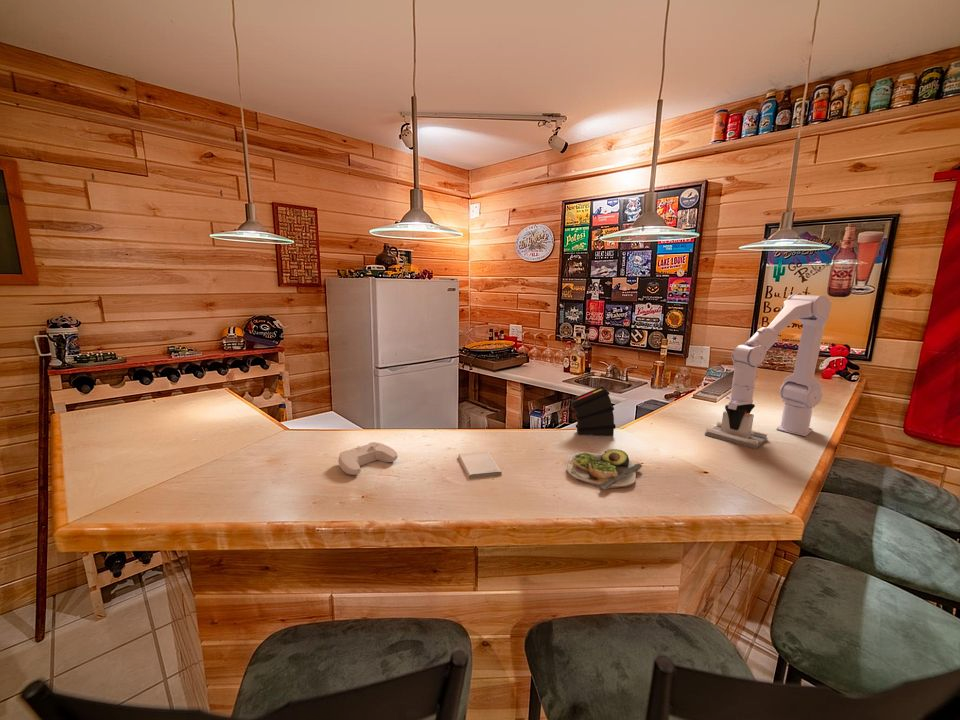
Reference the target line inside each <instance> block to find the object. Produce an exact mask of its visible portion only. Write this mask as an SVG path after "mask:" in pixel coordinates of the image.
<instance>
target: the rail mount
mask: <svg viewBox="0 0 960 720" xmlns="http://www.w3.org/2000/svg"><path fill="white" fill-rule="evenodd" d="M721 425H722V422H719V421H718V422H716V426H714V427H713V428H710V427H706V429H705V432H704V436H707V437H712V438H714V439H715V438H716V439H719V440H722V441H726V442H729V443H733V444H735V445H740V446H744V447H746V448H749V449H750V448H751V449H755V450H756V449H758V447H760V446H761V445H763V444H764V443H765V442H767V441H768V438H769V437H768V433H764V432H760V431H756V430H751V436H750V437H749V438H745V437H741V436H738V435H734V434H730V433H726V432H723V431H721Z"/></svg>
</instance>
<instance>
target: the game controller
mask: <svg viewBox="0 0 960 720" xmlns="http://www.w3.org/2000/svg"><path fill="white" fill-rule="evenodd" d="M398 457H399V455H398V452H397V451H396V450H395V449H394V448H392V447H390V446H388V445H386V444H384V443H380V442H376V441H374V442H369V443H367V444H365V445H361V446H360V445H359V446H357V447H355V448H354V447H353V448H352V449H345V450H343V451H341V452H340V453H339V456H338V461H337V462H338V466H339V468H340V469H341V470H342V471H343V472H344V473H345V474H347V475H351V476H356V475H358V474H360V473H361V466H363V465H366V464H369V463H372V462H375V461H380V462H384V463H391V462H395V461H396V460H397V459H398Z"/></svg>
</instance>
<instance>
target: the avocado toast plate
mask: <svg viewBox="0 0 960 720" xmlns="http://www.w3.org/2000/svg"><path fill="white" fill-rule="evenodd" d="M569 457H570V458H569V460H568V463H567V465H566V472H567V474H568V475H569V476H570V477H571V478H573V479H574V480H576V481H577V482H579V483H582V484H584V485H587V486H592V487H593V486H595V487H598V488H600V489H602V490H607V489H613V488H614V489H615V488H616V489H617V488H622V487H623V488H624V487H630V486H632V485H633V484H634V483H635V481H636V474H637V471H640V469H641V468H642V467H643V465H642V464H641V463H634V462H633V461H632V460H631V461H630V458H629V455H628V454H627V453H626V452H625V451H624V450H622V449H617V448H615V449H614V448H612V449H608V450H605V451H604V453H602V454H601V453H600V454H599V453H594V452H588V451H581V452H575V453H574V454H572V455H571V456H569ZM577 468H578V469H580V470H582V471H584V472H587V473H589V474H590V475H591V476H590V477H591V478H585V477H582V476H581V475H579V474H578V473H577Z"/></svg>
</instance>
